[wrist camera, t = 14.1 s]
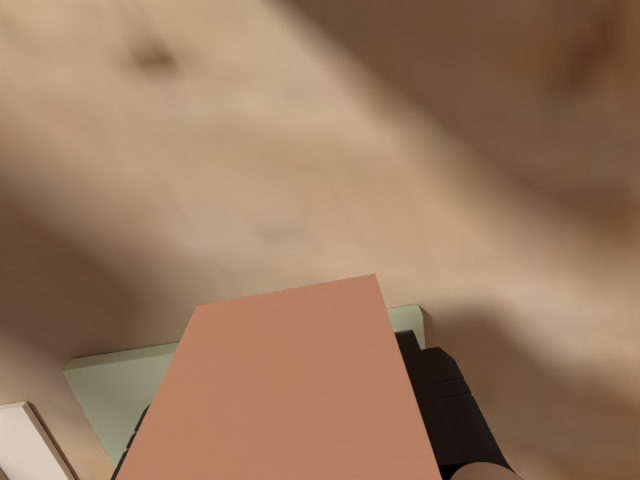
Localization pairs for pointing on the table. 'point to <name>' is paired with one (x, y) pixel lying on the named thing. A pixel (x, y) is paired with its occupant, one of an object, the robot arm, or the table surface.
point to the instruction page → (27, 447)
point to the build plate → (151, 382)
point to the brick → (286, 394)
